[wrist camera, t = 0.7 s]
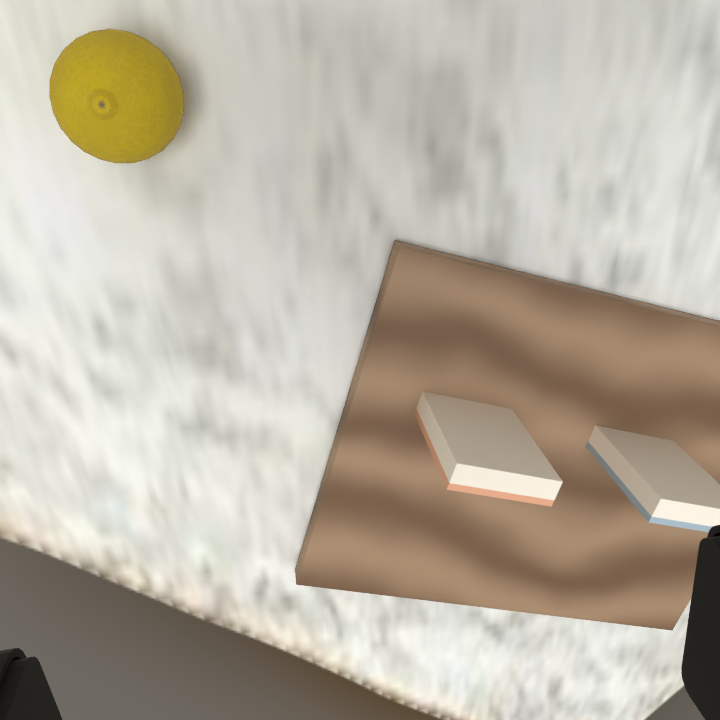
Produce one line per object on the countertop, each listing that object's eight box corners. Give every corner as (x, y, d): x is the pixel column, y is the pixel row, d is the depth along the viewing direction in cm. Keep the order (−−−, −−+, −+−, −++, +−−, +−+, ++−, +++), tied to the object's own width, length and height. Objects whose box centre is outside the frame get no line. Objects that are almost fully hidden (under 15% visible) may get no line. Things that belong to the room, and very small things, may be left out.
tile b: (595, 425, 44) (660, 498, 37) (674, 440, 46) (751, 514, 39) (585, 446, 45) (648, 522, 38) (663, 461, 46) (738, 537, 39)
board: (394, 240, 39) (399, 247, 38) (816, 345, 46) (833, 354, 45) (295, 569, 48) (296, 584, 46) (662, 615, 55) (672, 630, 53)
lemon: (181, 161, 36) (162, 190, 29) (70, 135, 35) (20, 158, 27) (199, 49, 34) (183, 49, 27) (81, 16, 33) (30, 7, 25)
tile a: (422, 391, 42) (456, 463, 34) (511, 408, 43) (562, 481, 36) (414, 413, 42) (446, 489, 35) (502, 430, 44) (551, 506, 36)
